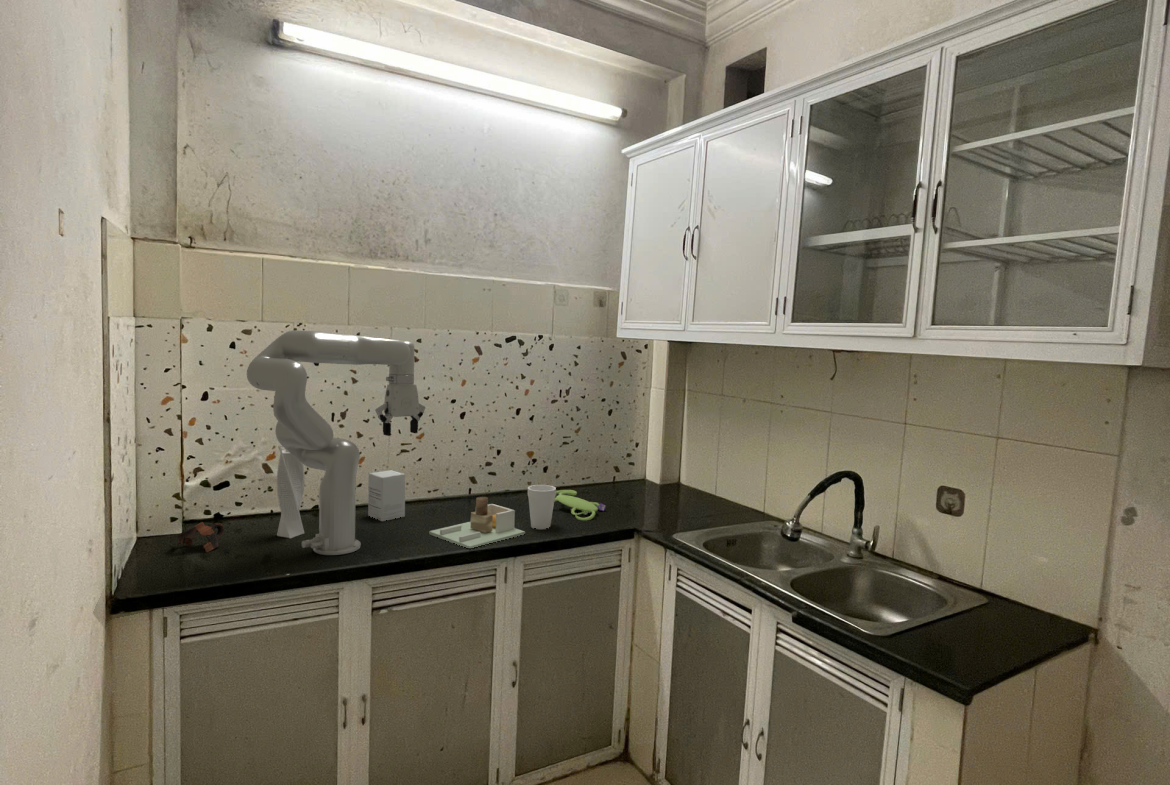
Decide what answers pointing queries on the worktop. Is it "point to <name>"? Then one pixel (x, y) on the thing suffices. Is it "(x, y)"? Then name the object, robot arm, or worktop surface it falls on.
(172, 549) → the worktop surface
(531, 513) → the foam cup
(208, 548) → the brown irregular piece
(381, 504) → the supplement box
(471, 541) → the pitch
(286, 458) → the skyscraper
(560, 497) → the figurine
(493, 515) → the ball
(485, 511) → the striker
